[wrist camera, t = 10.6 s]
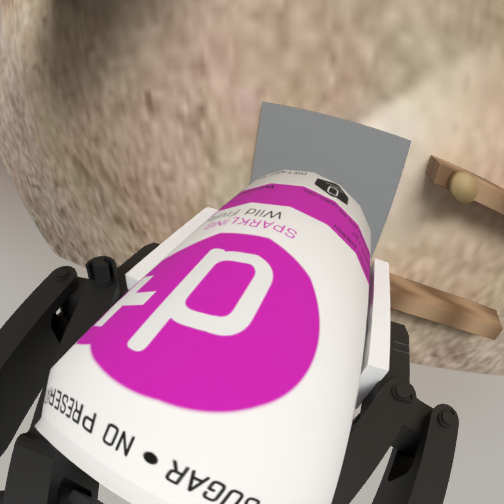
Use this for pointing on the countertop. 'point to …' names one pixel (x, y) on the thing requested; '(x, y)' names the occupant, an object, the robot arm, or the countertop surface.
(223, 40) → the countertop surface
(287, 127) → the mat
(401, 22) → the countertop surface
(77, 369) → the supplement can
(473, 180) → the cradle
